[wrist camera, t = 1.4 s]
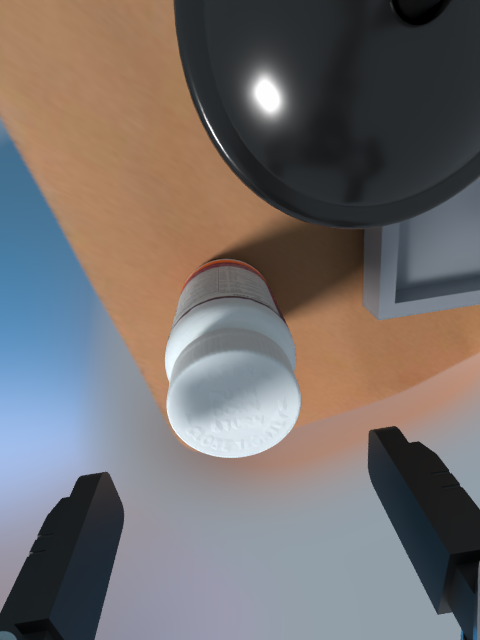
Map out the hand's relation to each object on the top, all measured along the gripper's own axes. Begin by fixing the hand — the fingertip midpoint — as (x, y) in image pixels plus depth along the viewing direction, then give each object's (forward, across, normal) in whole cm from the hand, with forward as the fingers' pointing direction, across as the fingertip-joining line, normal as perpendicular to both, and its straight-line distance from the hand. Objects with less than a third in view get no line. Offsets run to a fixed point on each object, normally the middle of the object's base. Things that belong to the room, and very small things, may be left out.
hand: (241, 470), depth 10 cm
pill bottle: (+14, 0, 0) cm, 14 cm away
